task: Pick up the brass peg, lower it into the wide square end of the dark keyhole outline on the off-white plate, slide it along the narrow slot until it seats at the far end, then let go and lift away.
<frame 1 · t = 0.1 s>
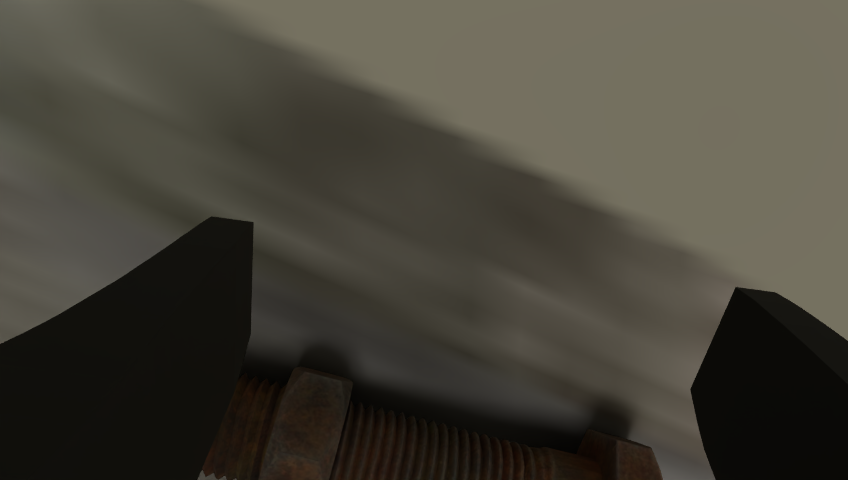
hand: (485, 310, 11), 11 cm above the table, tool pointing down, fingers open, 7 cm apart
bolt: (403, 415, 25), on the table
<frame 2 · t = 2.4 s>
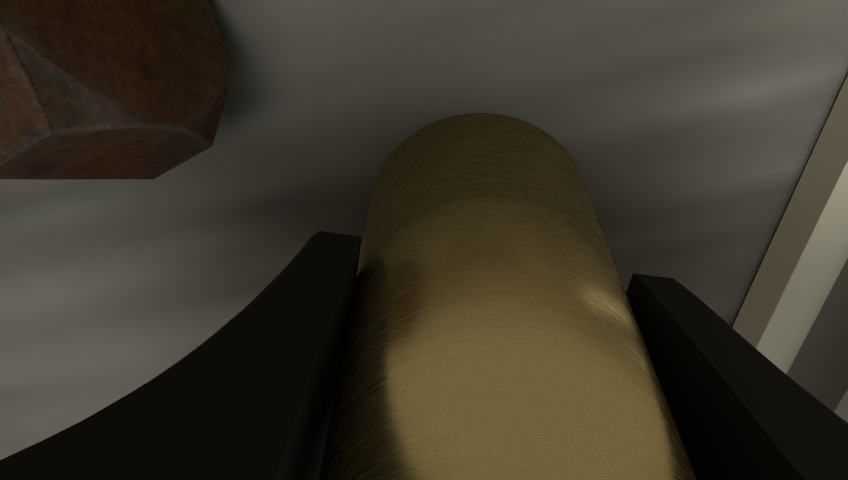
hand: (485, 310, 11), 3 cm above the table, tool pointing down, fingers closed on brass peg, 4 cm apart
brass peg: (477, 216, 13), on the table, touching gripper
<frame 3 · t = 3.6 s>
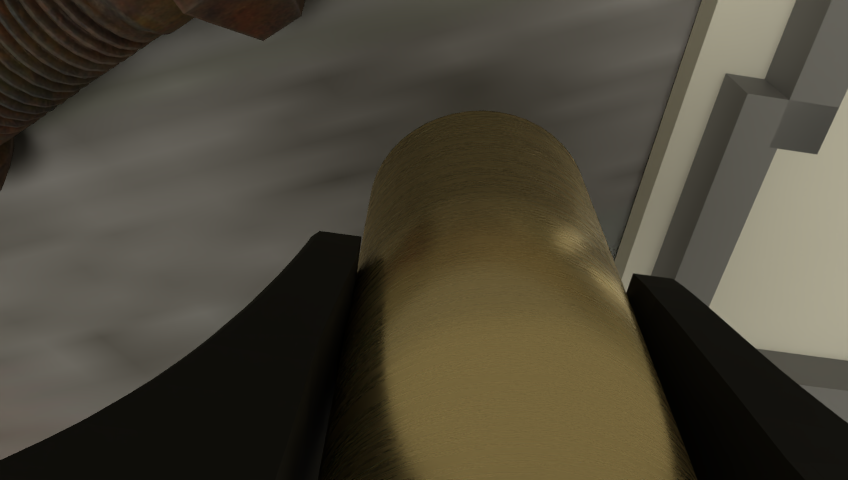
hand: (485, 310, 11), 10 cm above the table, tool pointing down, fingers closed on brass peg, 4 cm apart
brass peg: (477, 213, 13), point 7 cm above the table, touching gripper
bolt: (37, 31, 19), on the table
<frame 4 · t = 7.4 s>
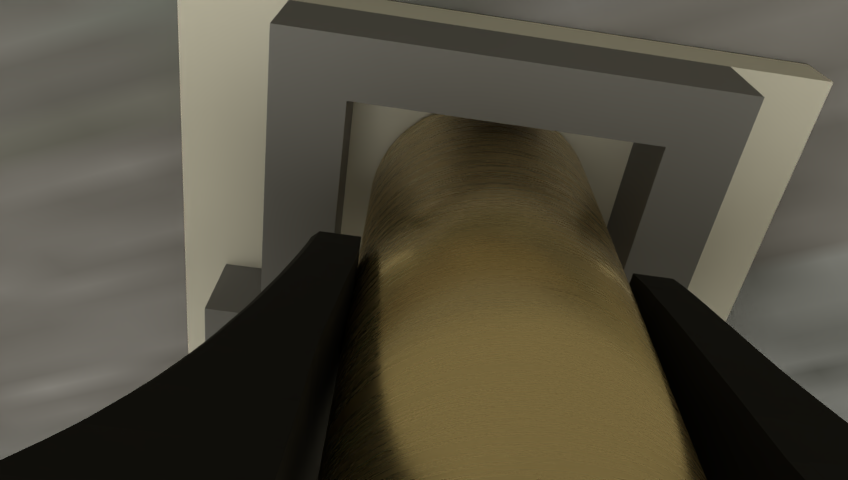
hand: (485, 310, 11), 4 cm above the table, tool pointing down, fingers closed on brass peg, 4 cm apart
brass peg: (478, 207, 13), point 1 cm above the table, touching gripper
keyhole plate: (442, 347, 17), on the table
when the fingers open (4 cm above the table, at t = 7.8 s): brass peg stays where it is, resting on keyhole plate.
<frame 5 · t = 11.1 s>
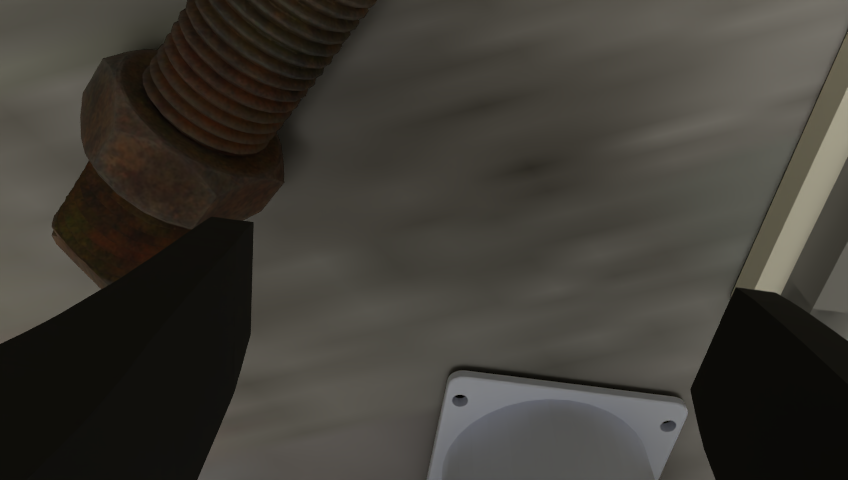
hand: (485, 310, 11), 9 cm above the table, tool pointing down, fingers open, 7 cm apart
bolt: (269, 14, 18), on the table
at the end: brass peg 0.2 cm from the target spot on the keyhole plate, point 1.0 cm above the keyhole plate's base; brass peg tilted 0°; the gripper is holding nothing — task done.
